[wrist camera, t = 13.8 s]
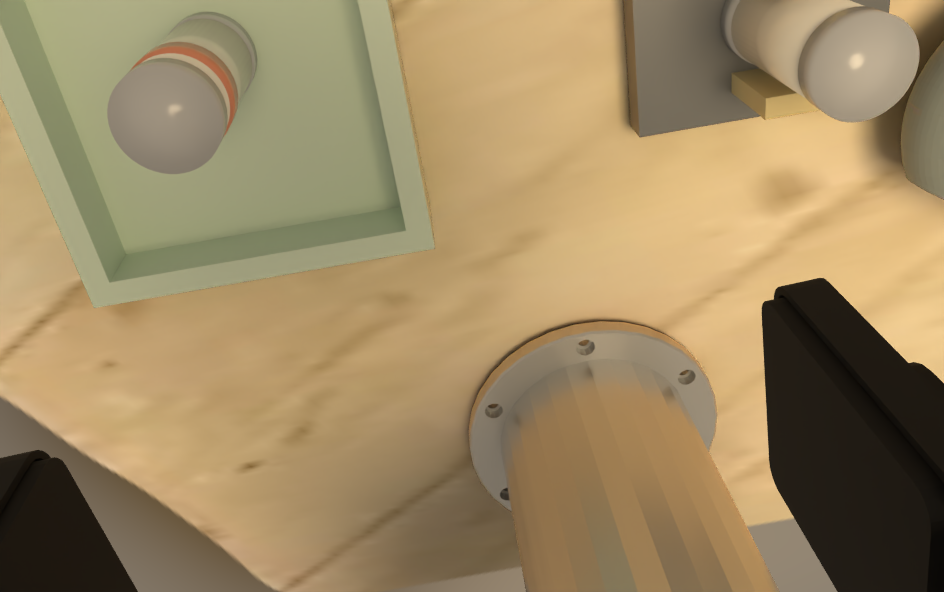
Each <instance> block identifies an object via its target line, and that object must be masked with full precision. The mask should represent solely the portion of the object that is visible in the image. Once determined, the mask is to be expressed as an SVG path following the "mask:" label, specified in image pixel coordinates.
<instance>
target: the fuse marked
mask: <svg viewBox="0 0 944 592" xmlns="http://www.w3.org/2000/svg"><path fill="white" fill-rule="evenodd" d="M256 69H257V53H256V48H255V45H254V43H253V41H252V39H251V37H250V35H249V34H248V32H247V31H246V30H245V29H244V28H243V27H242V26H241V25H240V24H239V23H238V22H236V21H235V20H233V19H232V18H230V17H228V16H226V15H223V14H220V13H216V12H198V13H194V14H192V15H189V16H187V17H186V18H184V19H183V20H182V21H180V22H179V23H178V24H177V25H176V26H175V27H174V28H173V29H172V30H171V31H170V33H169V34H168V36H167V37H166V38H165V39H164V40H163V41H162V42H161V43H160V44H159V45H158V46H156V47H155V48H153V49H151V50H150V51H149V52H148V53H146V54H145V55H144V56H143V57H142V58H141V59H140V60H139V61H138V62H137V63H136V64H135V65H134V66H133V67H132V69H131V70H130V71H129V72H128V73H127V74H126V75H125V76H124V77H123V78H122V79H121V80H120V81H119V83H118V84H117V85H116V86H115V88H114V89H113V91H112V93H111V95H110V98H109V102H108V108H107V118H108V124H109V127H110V131H111V133H112V135H113V137H114V139H115V141H116V143H117V144H118V146H119V147H120V148H121V149H122V151H123V152H124V153H125V154H126V155H127V156H128V157H129V158H131V159H132V160H133V161H135V162H136V163H138V164H139V165H141V166H143V167H145V168H147V169H149V170H152V171H155V172H159V173H165V174H181V173H186V172H190V171H193V170H195V169H197V168H199V167H201V166H203V165H204V164H205V163H207V162H208V161H209V160H210V159H211V158H212V156H213V155H214V154H215V152H216V150H217V149H218V147H219V145H220V143H221V141H222V139H223V137H224V136H225V135H226V133H227V131H228V129H229V127H230V125H231V123H232V121H233V119H234V117H235V115H236V112H237V108H238V104H239V102H240V100H241V98H242V96H243V94H244V93H245V92H246V91H247V89H248V88H249V86H250V84H251V82H252V80H253V78H254V76H255V73H256Z"/></svg>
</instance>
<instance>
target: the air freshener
mask: <svg viewBox="0 0 944 592" xmlns="http://www.w3.org/2000/svg"><path fill="white" fill-rule="evenodd" d="M901 154H902V163H903V167H904V170H905V174H906V178H907V179H908V180H909V181H911V182H912V183H914V184H915V185H917V186H918V187H920V188H922V189H924V190H925V191H927V192H929V193H931V194H933V195H935V196H937V197H939V198H941V199H943V200H944V40H943V42H942V43H941V44H940V45H939V47H938V48H937V49H936V50H935V52H934V53H933V54H932V55H931V57H930V58H929V60H928V61H927V63H926V65H925V66H924V68H923V70H922V71H921V73H920V75H919V76H918V78H917V80H916V82H915V85H914V87H913V89H912V92H911V94H910V96H909V99H908V102H907V106H906V110H905V113H904V117H903V122H902V131H901Z"/></svg>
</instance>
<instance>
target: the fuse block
mask: <svg viewBox="0 0 944 592" xmlns="http://www.w3.org/2000/svg"><path fill="white" fill-rule="evenodd" d="M850 1H853V2H855V3H858V4H861V5H863V6H866V7H873V8H876V9H879V10H881V11H884V12H887V13H889V5H890V0H850ZM725 2H726V0H623V3H624V20H625V38H626V55H627V73H628V90H629V108H630V125H631V127H632V128H633V129H634V131H635V132H636V133H637V135H638V136H639V137H645V136H650V135H656V134H662V133H668V132H673V131H679V130H685V129H691V128H696V127H702V126H708V125H713V124H719V123H725V122H731V121H736V120H742V119H748V118H754V117H759V116H761V117H762V118H764V119H765V120H767V119H773V118H779V117H784V116H790V115H796V114H802V113H807V112H813V111H819V109H818V108H816V107H815V106H814V105H812V104H811V103H810V102H809V101H808V100H807V99H806V98H804V97H803V96H801V95H800V94H798V93H796V92H795V91H793V90H792V89H790V88H789V87H787V86H786V85H784V84H783V83H781V82H780V81H778V80H777V79H775V78H774V77H772V76H771V75H769V74H767V73H766V72H764V71H763V70H761V69H760V68H758V67H757V66H755V65H754V64H751V63H749V62H747V61H745V60H744V59H742V58H741V57H739V56H737V55H736V54H735V53H733V52H732V51H731V50H730V49H729V48H728V46H727V45H726V43H725V41H724V39H723V36H722V33H721V24H720V23H721V14H722V10H723V7H724V5H725Z"/></svg>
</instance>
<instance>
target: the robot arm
mask: <svg viewBox="0 0 944 592" xmlns="http://www.w3.org/2000/svg"><path fill="white" fill-rule="evenodd" d="M762 328H763V347H764V367H765V387H766V406H767V426H768V445H769V462H770V468H771V473H772V476H773V480H774V482H775V485H776V487H777V489H778V491H779V493H780V494H781V496H782V498H783V499H784V501H785V503H786V505H787V506H788V508H789V510H790V511H791V513H792V515H793V516H794V518H795V520H796V522H797V523H798V525H799V527H800V528H801V530H802V532H803V533H804V535H805V537H806V538H807V540H808V542H809V544H810V545H811V547H812V549H813V551H814V552H815V554H816V556H817V557H818V559H819V560H820V562H821V564H822V566H823V567H824V569H825V571H826V573H827V574H828V576H829V578H830V580H831V581H832V583H833V585H834V586H835V588H836V590H837V591H838V592H944V383H943V382H942V381H941V380H940V379H939V378H938V377H937V376H936V375H935V374H934V373H933V372H932V371H930V370H929V369H928V368H926V367H925V366H924V365H922V364H919V363H914V362H913V363H908V362H907V361H906V360H905V359H904V358H903V357H902V356H901V355H900V354H899V353H898V352H897V351H896V350H895V349H894V348H893V347H892V346H891V345H890V344H889V343H888V342H887V341H886V340H885V339H884V338H883V337H882V336H881V335H880V334H879V333H878V332H877V331H876V330H875V329H874V328H873V327H872V326H871V325H870V324H869V323H868V322H867V321H866V320H865V319H864V318H863V317H862V316H861V314H860V313H859V312H858V311H857V310H856V309H855V308H854V307H853V306H852V305H851V304H850V303H849V302H848V301H847V300H846V299H845V298H844V297H843V296H842V295H841V294H840V293H839V292H838V291H837V290H836V289H835V288H834V287H833V286H832V285H831V284H830V283H829V282H828V281H827V280H825V279H824V278H817V279H813V280H808V281H804V282H799V283H795V284H790V285H785V286H781V287H778V288H777V289H776V290H775V294H774V300H769V301H765V302H764V303H763V305H762ZM716 422H717V409H716V401H715V395H714V393H713V390H712V388H711V385H710V383H709V380H708V378H707V376H706V375H705V373H704V371H703V370H702V368H701V366H700V365H699V363H698V362H697V360H696V359H695V358H694V357H693V356H692V355H691V354H690V353H689V352H688V351H687V350H686V348H685V347H683V346H682V345H680V344H679V343H677V342H676V341H675V340H673V339H672V338H670V337H669V336H667V335H665V334H663V333H660V332H658V331H655V330H653V329H650V328H648V327H645V326H640V325H635V324H630V323H626V322H605V321H598V322H590V323H583V324H575V325H571V326H568V327H565V328H561V329H558V330H555V331H551V332H549V333H547V334H545V335H543V336H541V337H539V338H536V339H534V340H532V341H530V342H528V343H527V344H525V345H524V346H522V347H521V348H520V349H518V350H517V351H515V352H514V353H512V354H511V355H510V356H508V357H507V358H506V359H505V360H504V361H503V362H502V363H501V364H500V365H499V366H498V367H497V368H496V369H495V370H494V371H493V372H492V373H491V375H490V376H489V378H488V379H487V381H486V382H485V384H484V385H483V387H482V388H481V390H480V391H479V393H478V396H477V398H476V401H475V403H474V406H473V408H472V411H471V417H470V423H469V429H468V430H469V444H470V452H471V457H472V462H473V467H474V469H475V471H476V473H477V476H478V478H479V480H480V482H481V484H482V485H483V486H484V487H485V489H486V490H487V491H488V492H489V494H490V495H491V496H492V497H493V498H494V499H495V500H496V501H497V502H499V503H500V504H501V505H502V506H504V507H505V508H506V509H507V510H509V511H511V512H512V515H513V521H514V526H515V532H516V537H517V543H518V549H519V554H520V560H521V565H522V571H523V576H524V582H525V588H526V592H780V591H779V589H778V588H777V586H776V583H775V581H774V580H773V577H772V576H771V574H770V572H769V570H768V568H767V566H766V564H765V562H764V560H763V558H762V556H761V554H760V552H759V550H758V548H757V546H756V544H755V542H754V540H753V539H752V536H751V534H750V532H749V530H748V528H747V526H746V524H745V522H744V521H743V519H742V517H741V515H740V513H739V511H738V509H737V507H736V505H735V503H734V501H733V499H732V497H731V495H730V493H729V491H728V489H727V487H726V485H725V483H724V481H723V479H722V477H721V475H720V473H719V471H718V469H717V467H716V466H715V464H714V462H713V460H712V458H711V456H710V454H709V450H710V447H711V444H712V441H713V438H714V435H715V430H716ZM0 592H138V591H137V589H136V588H135V586H134V584H133V582H132V581H131V579H130V577H129V576H128V574H127V572H126V570H125V568H124V567H123V565H122V563H121V561H120V560H119V558H118V556H117V554H116V552H115V551H114V549H113V547H112V545H111V544H110V542H109V540H108V538H107V537H106V535H105V533H104V531H103V530H102V528H101V526H100V524H99V523H98V521H97V519H96V518H95V516H94V514H93V513H92V510H91V509H90V507H89V505H88V503H87V502H86V500H85V498H84V497H83V495H82V493H81V491H80V489H79V488H78V486H77V485H76V482H75V481H74V479H73V477H72V475H71V474H70V472H69V470H68V468H67V467H66V465H65V464H64V462H63V461H62V460H60V459H58V458H50V456H49V455H48V454H47V453H45V452H44V451H40V450H35V451H31V452H26V453H22V454H17V455H12V456H8V457H4V458H0Z"/></svg>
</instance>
